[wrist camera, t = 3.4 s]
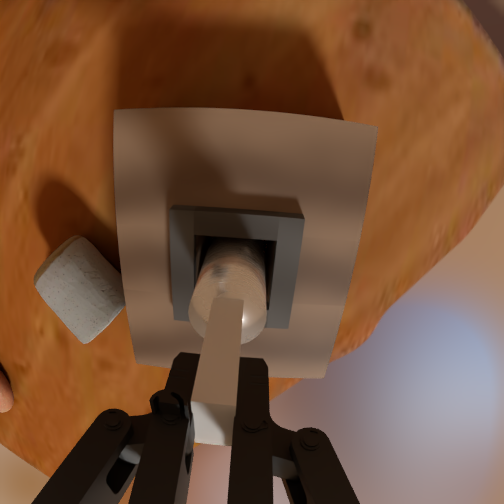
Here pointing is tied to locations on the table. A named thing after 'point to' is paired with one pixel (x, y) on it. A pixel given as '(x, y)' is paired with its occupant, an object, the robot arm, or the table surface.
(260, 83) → the table surface
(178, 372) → the robot arm
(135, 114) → the socket block
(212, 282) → the peg
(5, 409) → the ceramic jug
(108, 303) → the ceramic mug
